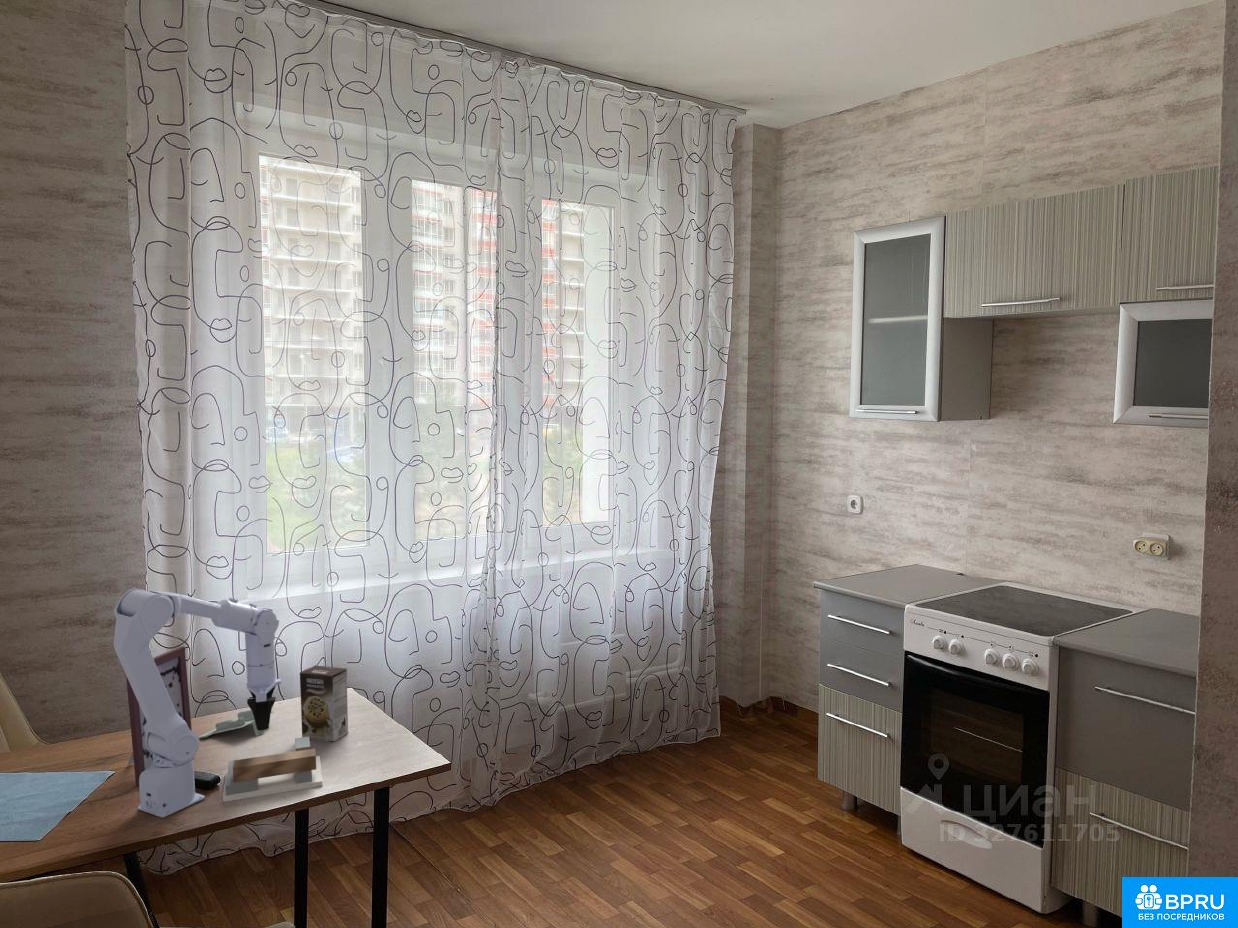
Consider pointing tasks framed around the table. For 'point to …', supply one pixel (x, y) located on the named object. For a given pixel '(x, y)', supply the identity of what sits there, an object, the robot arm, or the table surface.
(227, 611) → the robot arm
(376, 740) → the table surface
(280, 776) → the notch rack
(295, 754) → the walnut bar
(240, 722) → the metal bracket
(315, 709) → the coffee box
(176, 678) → the picture frame
